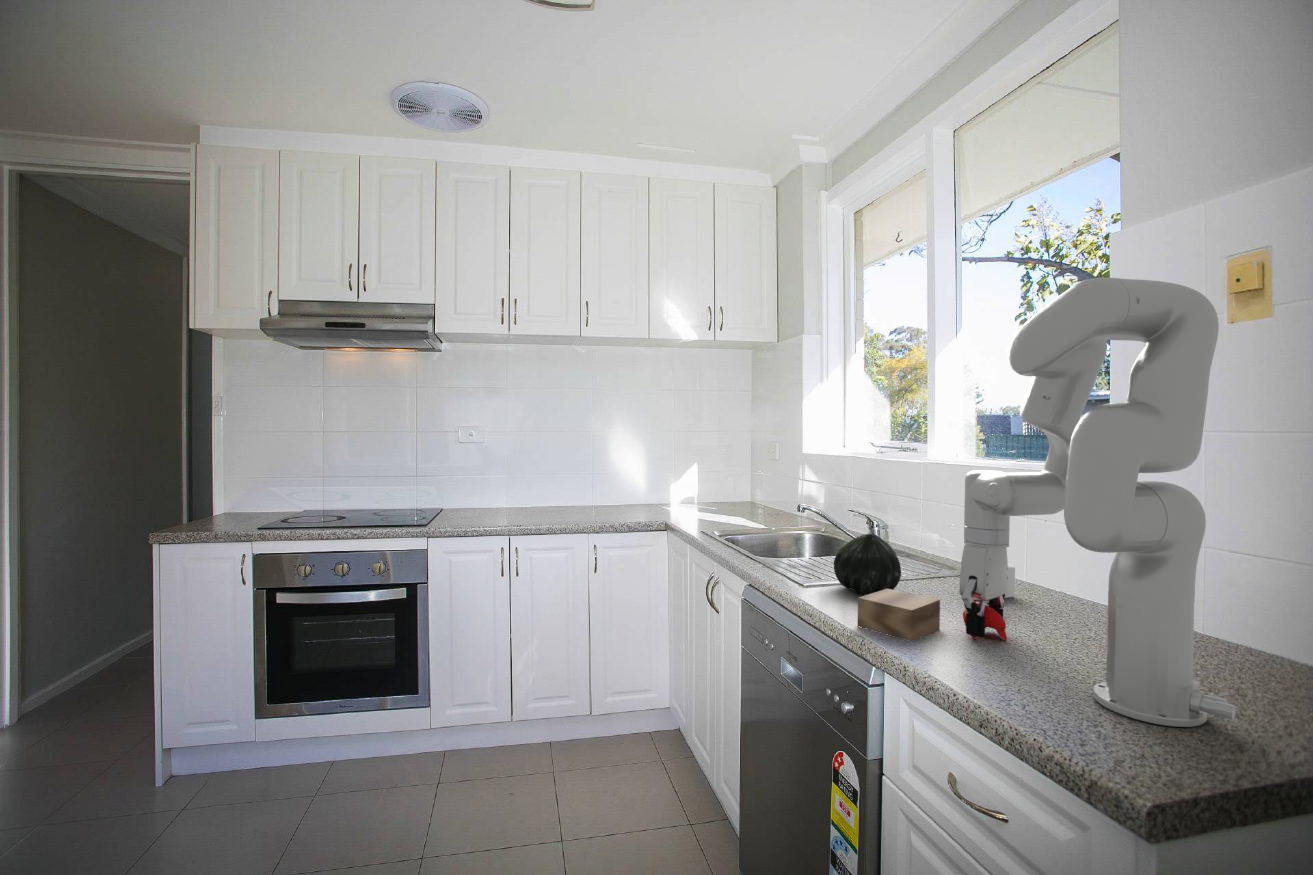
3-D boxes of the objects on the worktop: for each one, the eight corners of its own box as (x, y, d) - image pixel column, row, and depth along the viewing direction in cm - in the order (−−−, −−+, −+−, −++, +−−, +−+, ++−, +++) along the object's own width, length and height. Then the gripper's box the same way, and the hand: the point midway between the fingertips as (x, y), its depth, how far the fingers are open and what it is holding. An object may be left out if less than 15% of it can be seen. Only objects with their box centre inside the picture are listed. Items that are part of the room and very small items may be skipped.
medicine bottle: (966, 591, 152) (967, 541, 151) (990, 589, 154) (991, 540, 154) (990, 599, 145) (991, 547, 145) (1015, 597, 147) (1016, 545, 147)
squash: (855, 558, 163) (840, 518, 155) (914, 569, 154) (902, 527, 145) (834, 602, 156) (818, 563, 148) (896, 617, 146) (881, 576, 138)
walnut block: (939, 630, 123) (939, 599, 123) (911, 642, 116) (911, 610, 116) (886, 617, 132) (887, 588, 131) (857, 628, 124) (857, 597, 124)
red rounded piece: (955, 620, 118) (986, 609, 115) (958, 602, 123) (987, 591, 120) (982, 654, 118) (1013, 644, 115) (984, 635, 123) (1014, 625, 120)
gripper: (986, 529, 127) (985, 618, 128) (943, 538, 116) (941, 635, 117) (1027, 534, 121) (1025, 628, 122) (985, 544, 111) (983, 647, 111)
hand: (984, 631), depth 119 cm, fingers closed on red rounded piece, 6 cm apart
